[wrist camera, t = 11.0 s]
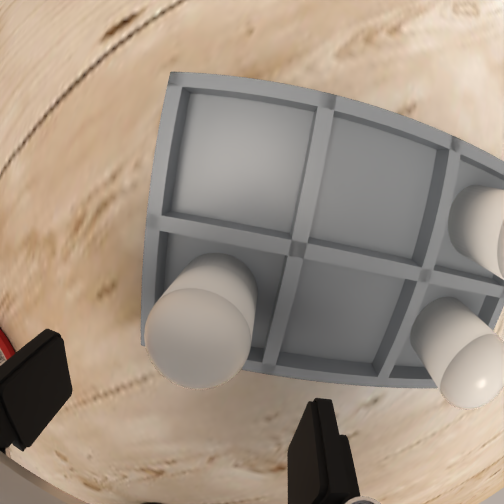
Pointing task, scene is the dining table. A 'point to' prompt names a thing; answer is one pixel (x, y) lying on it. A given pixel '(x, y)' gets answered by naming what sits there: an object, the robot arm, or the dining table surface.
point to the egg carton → (315, 222)
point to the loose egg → (203, 323)
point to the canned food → (5, 348)
